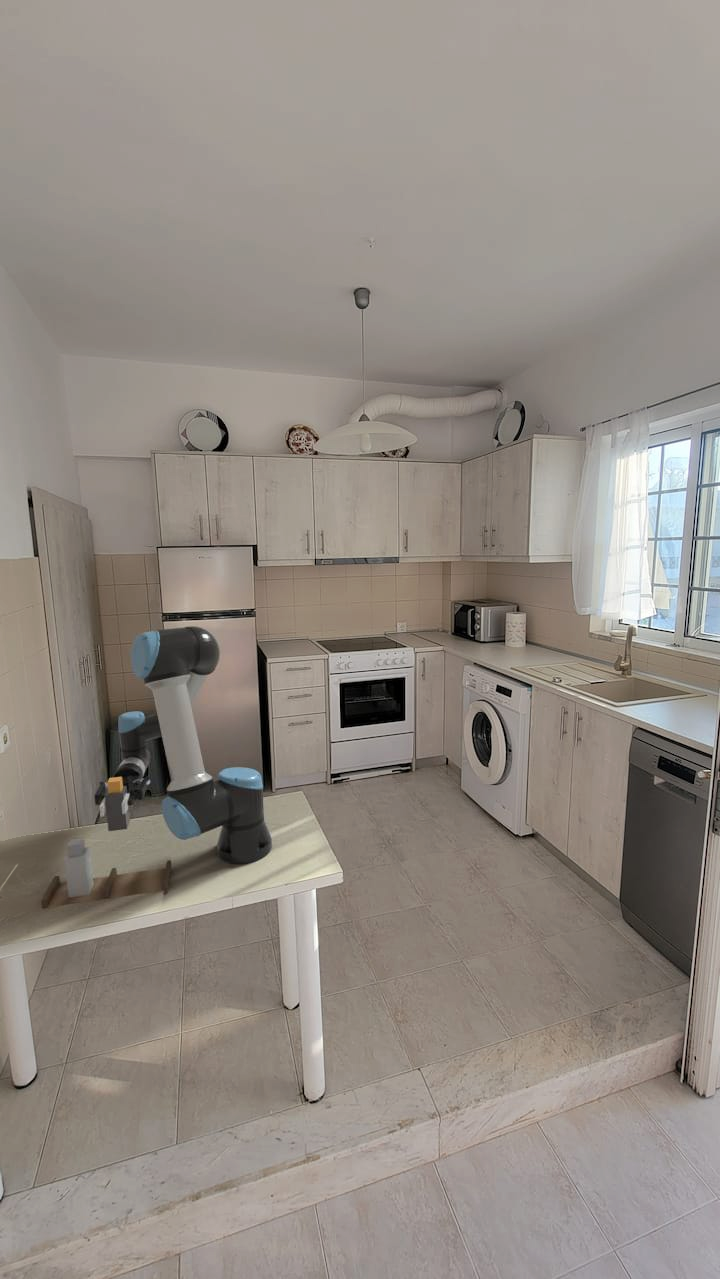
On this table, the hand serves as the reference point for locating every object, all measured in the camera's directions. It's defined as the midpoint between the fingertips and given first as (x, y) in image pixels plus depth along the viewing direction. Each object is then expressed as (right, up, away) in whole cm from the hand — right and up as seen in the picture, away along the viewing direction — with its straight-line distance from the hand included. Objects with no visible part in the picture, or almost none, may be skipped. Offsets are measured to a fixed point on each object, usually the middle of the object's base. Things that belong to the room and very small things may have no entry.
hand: (112, 810), depth 139 cm
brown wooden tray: (0, -20, -1) cm, 20 cm away
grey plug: (-6, -19, -3) cm, 20 cm away
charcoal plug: (-1, -6, +6) cm, 9 cm away
